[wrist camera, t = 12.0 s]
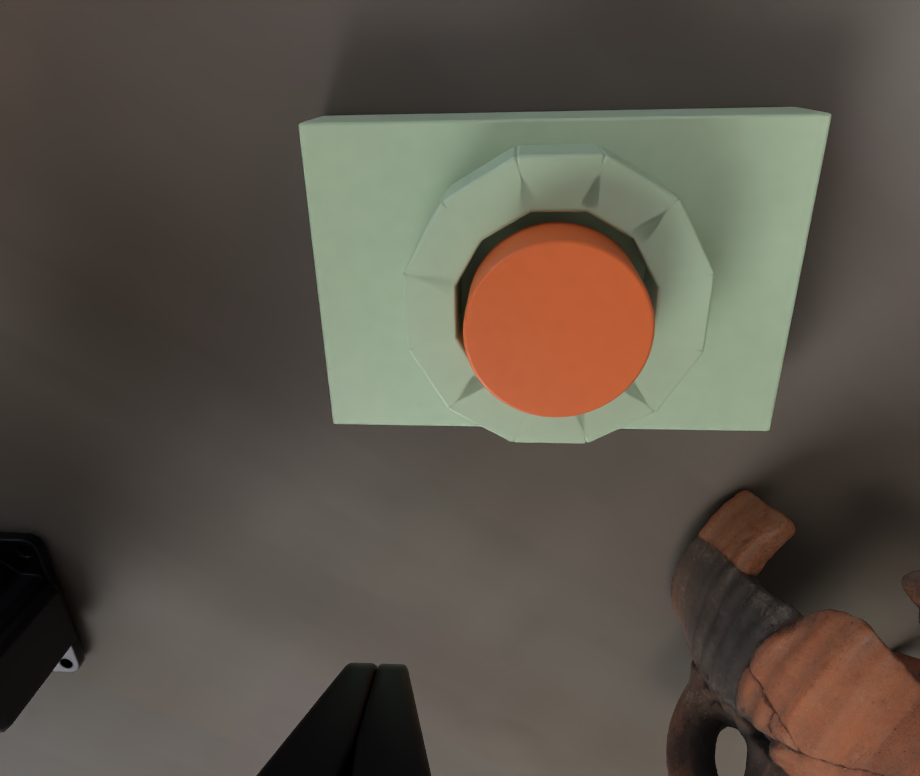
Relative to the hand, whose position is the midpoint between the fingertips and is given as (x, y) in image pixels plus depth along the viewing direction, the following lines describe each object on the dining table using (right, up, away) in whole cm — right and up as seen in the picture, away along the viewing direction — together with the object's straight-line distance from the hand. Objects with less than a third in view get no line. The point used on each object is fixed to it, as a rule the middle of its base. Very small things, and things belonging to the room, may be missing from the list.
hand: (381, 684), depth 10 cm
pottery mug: (+12, -3, +14) cm, 19 cm away
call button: (+3, +6, +6) cm, 9 cm away
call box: (+4, +8, +9) cm, 13 cm away
